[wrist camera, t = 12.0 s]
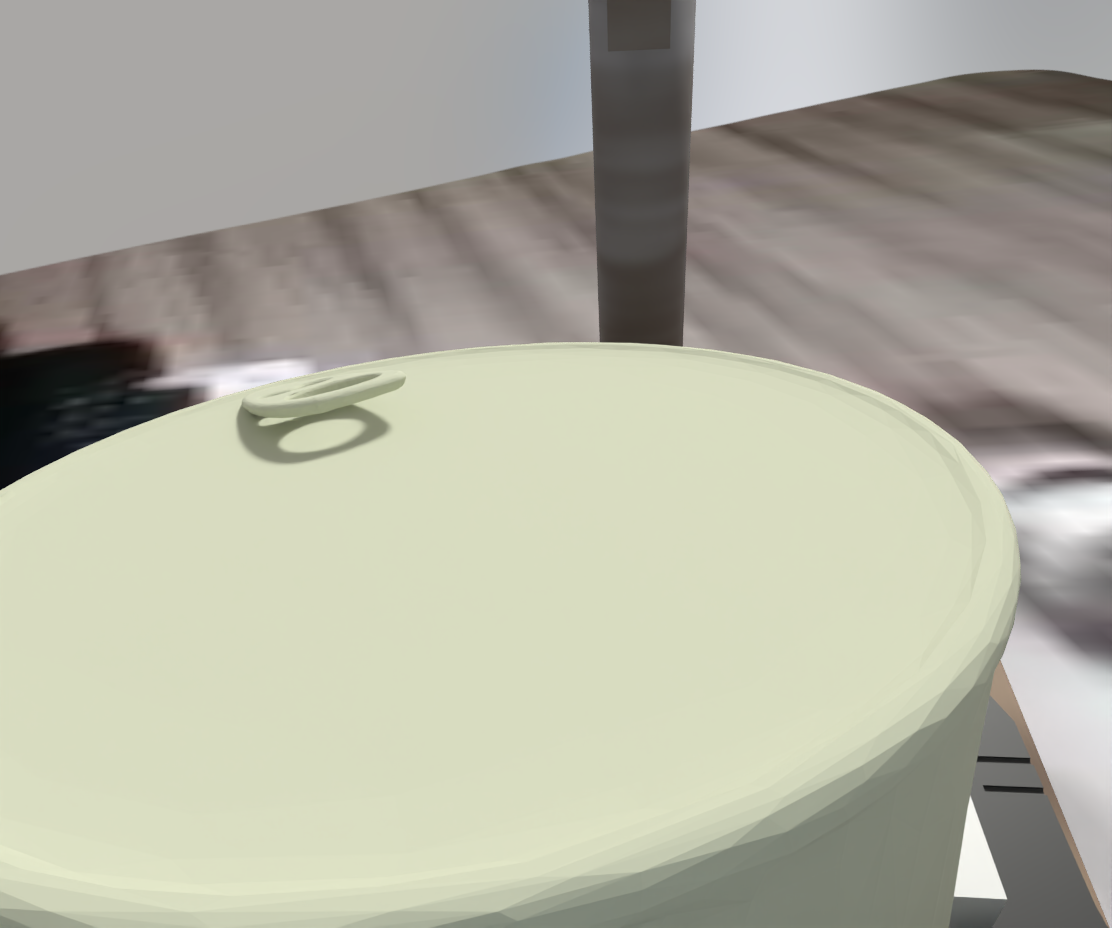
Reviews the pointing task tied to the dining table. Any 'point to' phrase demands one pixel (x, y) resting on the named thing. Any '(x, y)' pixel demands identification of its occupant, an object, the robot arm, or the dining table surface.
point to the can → (502, 652)
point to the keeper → (669, 206)
